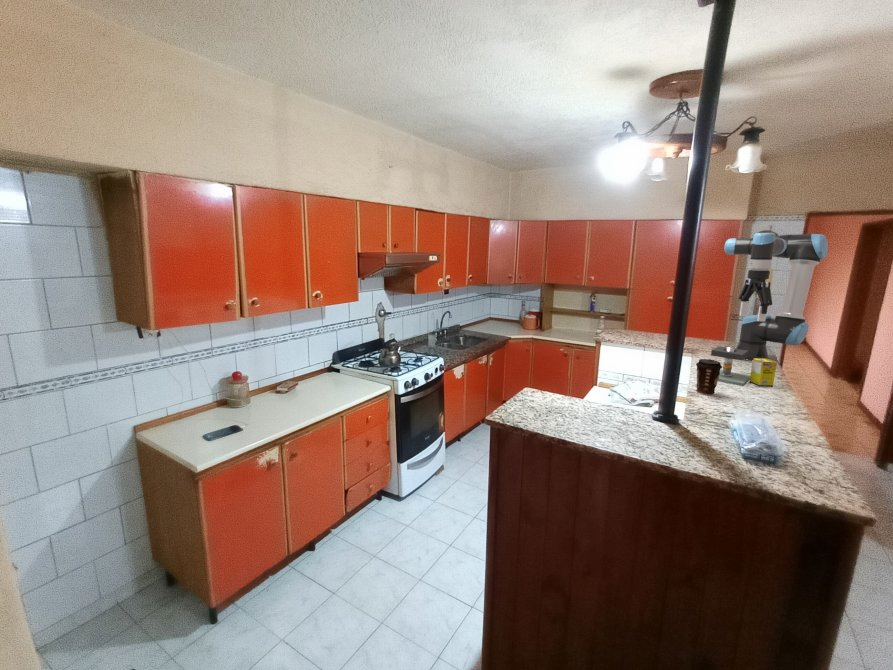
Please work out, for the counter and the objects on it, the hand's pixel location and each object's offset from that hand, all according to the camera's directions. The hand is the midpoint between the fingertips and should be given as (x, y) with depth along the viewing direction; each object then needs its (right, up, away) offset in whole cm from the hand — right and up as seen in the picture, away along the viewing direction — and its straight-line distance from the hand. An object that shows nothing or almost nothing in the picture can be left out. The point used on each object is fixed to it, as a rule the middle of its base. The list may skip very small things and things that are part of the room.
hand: (751, 318), depth 185 cm
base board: (-10, -26, +3) cm, 28 cm away
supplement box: (-1, -29, -6) cm, 29 cm away
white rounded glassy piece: (-10, -25, +2) cm, 27 cm away
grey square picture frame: (-10, -16, 0) cm, 19 cm away
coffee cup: (-31, -30, -17) cm, 47 cm away
